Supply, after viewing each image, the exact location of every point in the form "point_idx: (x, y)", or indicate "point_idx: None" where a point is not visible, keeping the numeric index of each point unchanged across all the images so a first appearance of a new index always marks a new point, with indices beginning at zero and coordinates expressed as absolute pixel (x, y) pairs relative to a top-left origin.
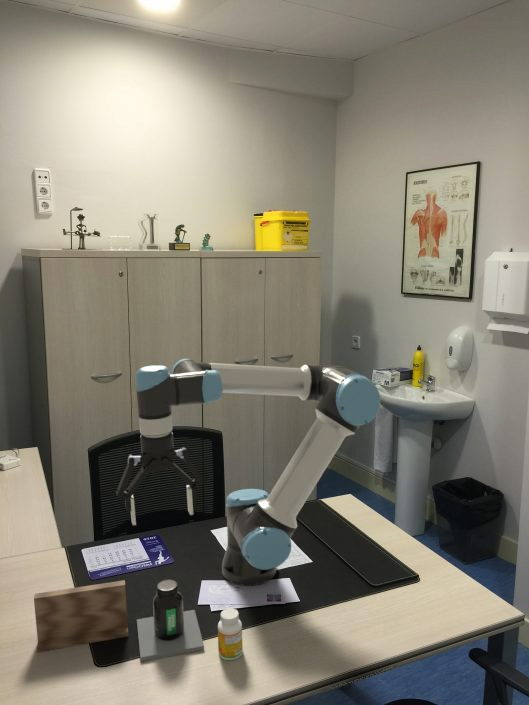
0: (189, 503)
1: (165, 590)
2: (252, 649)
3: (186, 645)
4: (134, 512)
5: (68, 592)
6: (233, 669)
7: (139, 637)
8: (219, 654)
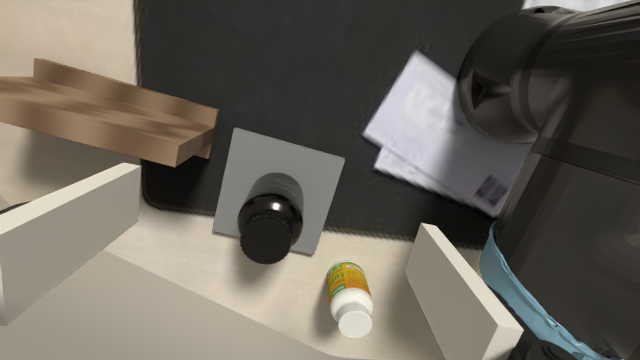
0: (424, 313)
1: (254, 259)
2: (377, 284)
3: None
4: (88, 256)
5: (20, 123)
6: None
7: (224, 183)
8: (327, 277)
